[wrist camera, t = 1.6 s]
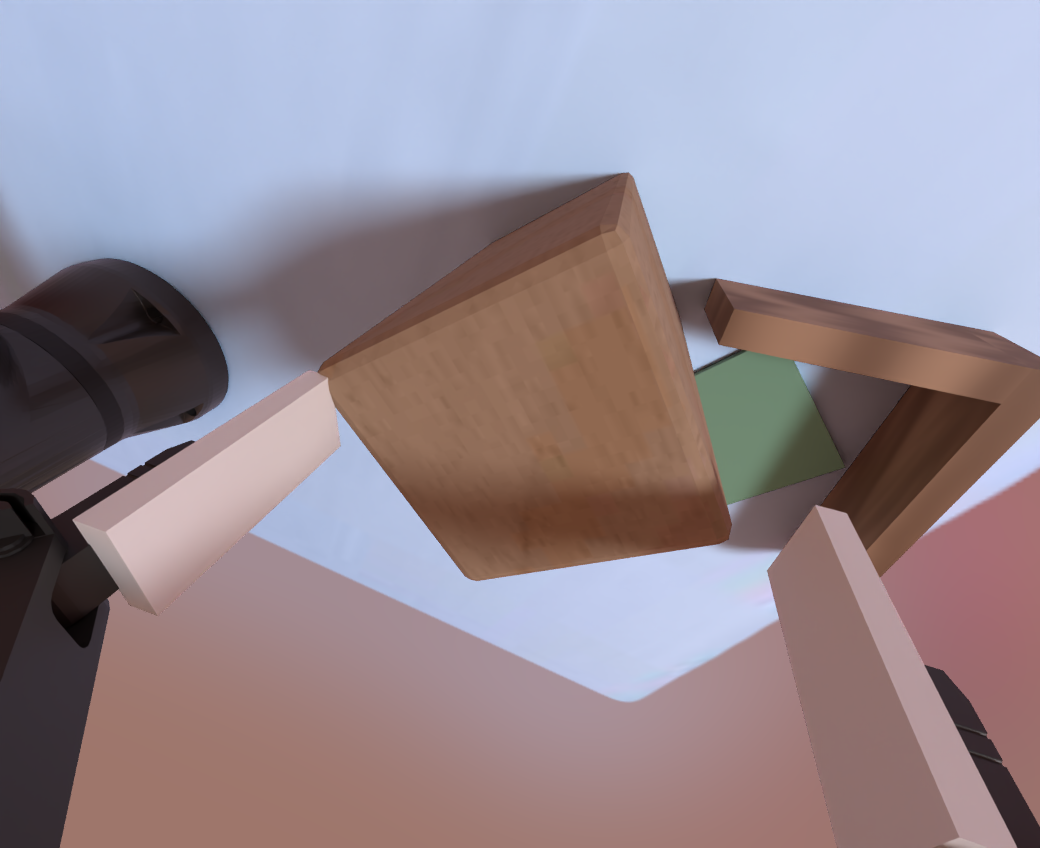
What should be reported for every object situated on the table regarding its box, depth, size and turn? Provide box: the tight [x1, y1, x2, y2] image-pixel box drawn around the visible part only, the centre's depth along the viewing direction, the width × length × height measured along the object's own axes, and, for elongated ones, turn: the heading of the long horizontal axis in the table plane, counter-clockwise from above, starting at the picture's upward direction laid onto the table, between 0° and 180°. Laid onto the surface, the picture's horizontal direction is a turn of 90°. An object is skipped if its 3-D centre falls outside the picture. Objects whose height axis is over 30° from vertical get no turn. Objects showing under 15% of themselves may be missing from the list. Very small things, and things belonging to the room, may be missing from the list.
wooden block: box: [318, 173, 732, 581], centre depth 21 cm, size 10×10×20 cm
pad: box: [694, 350, 845, 505], centre depth 32 cm, size 12×12×1 cm
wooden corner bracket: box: [704, 278, 1040, 577], centre depth 29 cm, size 16×20×6 cm
